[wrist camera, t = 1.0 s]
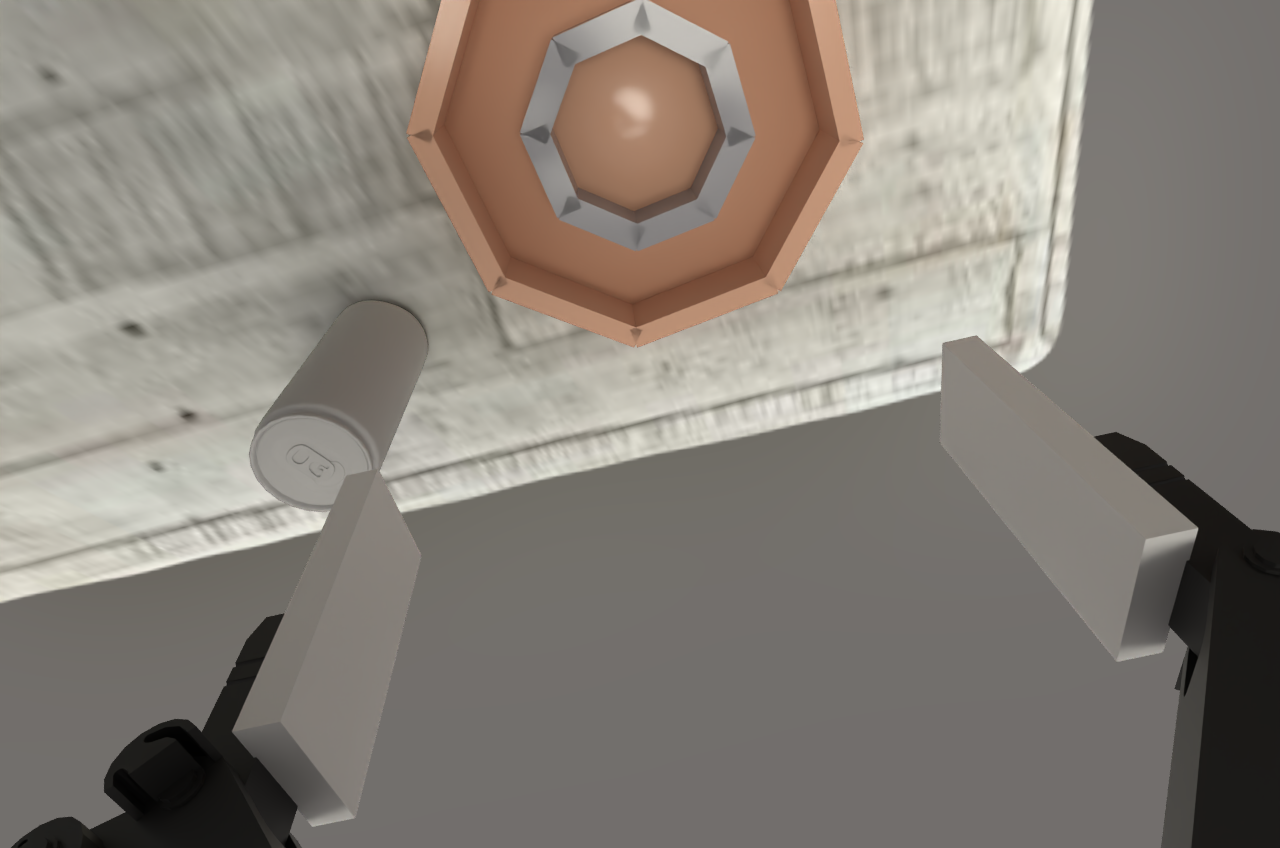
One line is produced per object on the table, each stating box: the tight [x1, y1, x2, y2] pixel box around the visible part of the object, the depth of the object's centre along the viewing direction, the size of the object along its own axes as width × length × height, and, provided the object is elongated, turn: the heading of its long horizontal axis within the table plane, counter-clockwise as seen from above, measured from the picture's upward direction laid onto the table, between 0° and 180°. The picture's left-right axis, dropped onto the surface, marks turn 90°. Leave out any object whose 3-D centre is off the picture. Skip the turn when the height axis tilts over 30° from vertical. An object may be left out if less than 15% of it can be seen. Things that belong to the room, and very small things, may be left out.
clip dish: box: [406, 0, 864, 347], centre depth 32 cm, size 18×18×4 cm
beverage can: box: [249, 300, 428, 512], centre depth 33 cm, size 5×5×12 cm
